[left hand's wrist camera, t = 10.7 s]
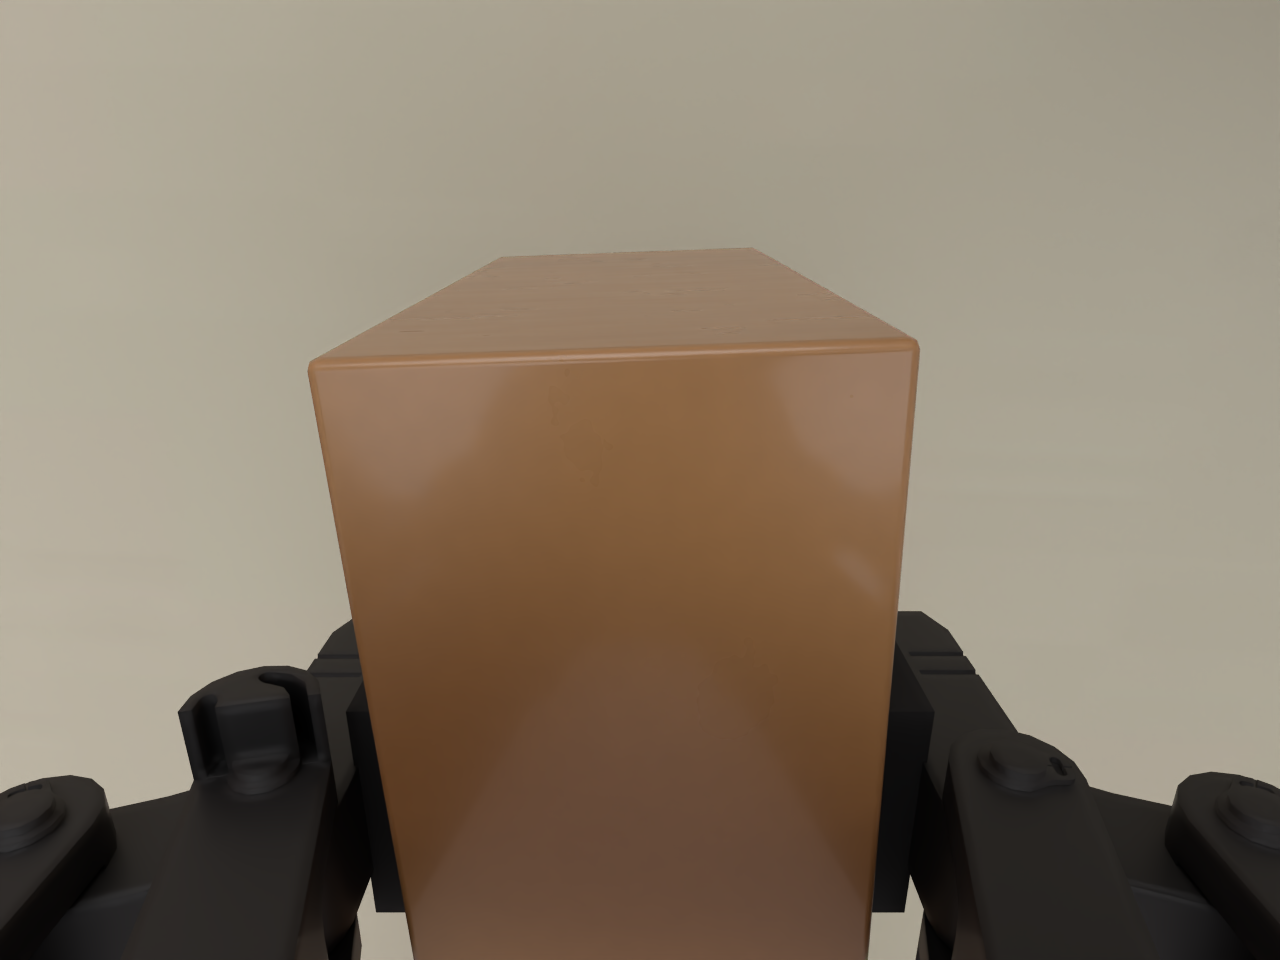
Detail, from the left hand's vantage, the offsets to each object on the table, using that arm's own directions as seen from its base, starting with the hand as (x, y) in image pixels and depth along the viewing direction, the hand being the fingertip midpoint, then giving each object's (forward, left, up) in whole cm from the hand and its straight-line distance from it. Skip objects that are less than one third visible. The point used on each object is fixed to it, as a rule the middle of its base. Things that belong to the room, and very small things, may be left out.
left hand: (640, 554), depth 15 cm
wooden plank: (+29, +13, -1) cm, 32 cm away
